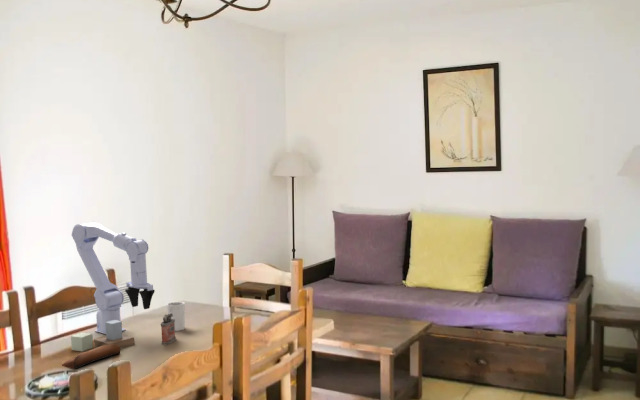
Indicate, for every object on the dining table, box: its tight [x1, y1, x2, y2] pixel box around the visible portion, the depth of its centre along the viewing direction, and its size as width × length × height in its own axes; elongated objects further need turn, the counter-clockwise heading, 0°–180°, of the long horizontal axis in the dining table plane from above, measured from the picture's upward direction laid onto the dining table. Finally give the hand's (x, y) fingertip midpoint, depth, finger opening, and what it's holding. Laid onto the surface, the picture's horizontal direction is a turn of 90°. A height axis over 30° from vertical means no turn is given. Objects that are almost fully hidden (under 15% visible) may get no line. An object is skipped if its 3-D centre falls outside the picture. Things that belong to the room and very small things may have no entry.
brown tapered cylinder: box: [61, 344, 121, 370], centre depth 206 cm, size 18×7×7 cm
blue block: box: [105, 320, 123, 340], centre depth 222 cm, size 4×4×6 cm
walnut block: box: [93, 333, 135, 349], centre depth 223 cm, size 10×10×3 cm
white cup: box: [166, 301, 186, 332], centre depth 242 cm, size 7×7×10 cm
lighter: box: [160, 313, 177, 346], centre depth 225 cm, size 8×3×10 cm, turn 168°
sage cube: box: [70, 332, 94, 352], centre depth 219 cm, size 5×5×5 cm
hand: (140, 307), depth 235 cm, fingers open, 7 cm apart
